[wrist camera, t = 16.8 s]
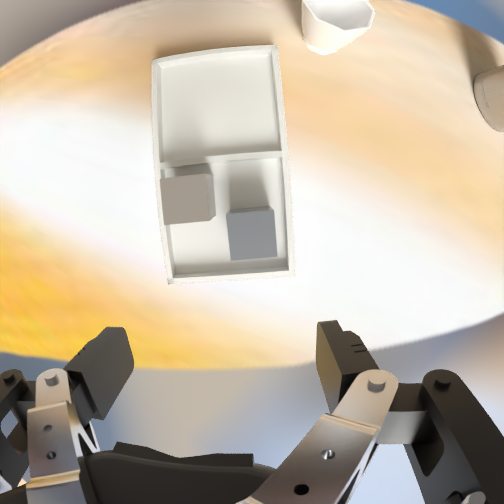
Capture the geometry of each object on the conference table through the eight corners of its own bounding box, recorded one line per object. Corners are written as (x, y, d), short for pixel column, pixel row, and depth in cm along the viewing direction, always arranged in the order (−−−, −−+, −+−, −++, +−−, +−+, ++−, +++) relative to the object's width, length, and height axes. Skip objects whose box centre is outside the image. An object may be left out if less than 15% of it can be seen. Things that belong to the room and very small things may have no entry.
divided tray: (275, 52, 25) (277, 44, 23) (292, 270, 31) (295, 275, 29) (157, 66, 25) (151, 59, 24) (172, 278, 31) (168, 284, 29)
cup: (277, 37, 25) (285, -3, 17) (331, -1, 23) (349, -37, 15) (325, 76, 26) (347, 45, 18) (375, 35, 24) (403, 5, 16)
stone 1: (213, 175, 28) (205, 173, 23) (216, 215, 29) (209, 220, 24) (174, 179, 28) (159, 179, 23) (178, 218, 29) (164, 225, 24)
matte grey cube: (270, 205, 29) (274, 210, 24) (273, 245, 30) (277, 256, 25) (230, 209, 29) (225, 214, 24) (234, 248, 30) (230, 260, 25)
